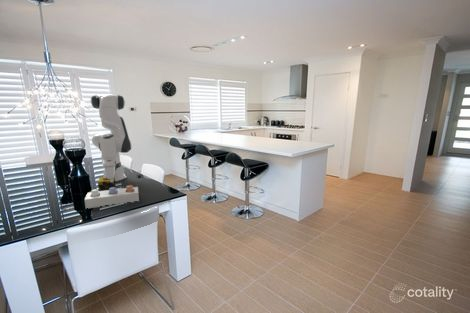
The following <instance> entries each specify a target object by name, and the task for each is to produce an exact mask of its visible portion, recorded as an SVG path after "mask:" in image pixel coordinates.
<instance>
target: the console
mask: <svg viewBox="0 0 470 313" xmlns="http://www.w3.org/2000/svg"><path fill="white" fill-rule="evenodd" d="M116 192H117V194H110V192H109V190H106V191H99V196H93V197H92V194H91V191H89V192H87V194H86V195H85V197H84V206H85V209H87V208H88V209H92V208H93V209H94V208H100V206H102V207H106V206H105V205H109V206H113V205H112V204H116V205H120V204H119V203H123V204H128V203H127V202H131V203H135V202H134V201H138V202H140V195H139V187H138V186H133V192H127V189H126V187H123V188H116ZM88 209H87V210H88Z"/></svg>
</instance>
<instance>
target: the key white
mask: <svg viewBox="0 0 470 313" xmlns="http://www.w3.org/2000/svg"><path fill="white" fill-rule="evenodd" d="M90 192H91V194H92V197H93V196H99V190H98V188H97V189H95V188H94V189H91V191H90Z"/></svg>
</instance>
